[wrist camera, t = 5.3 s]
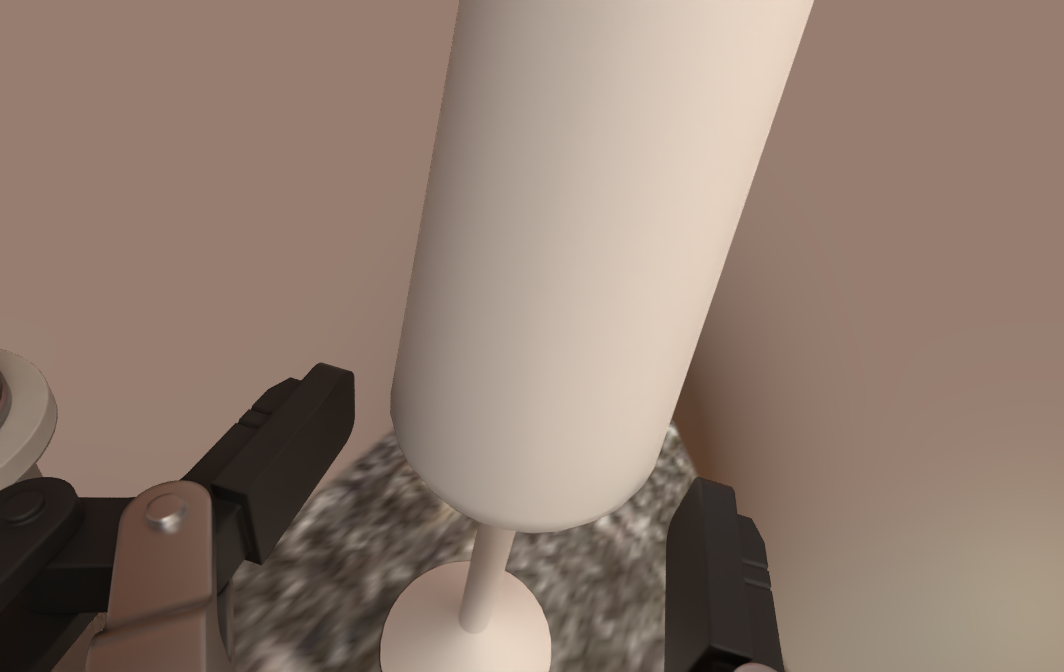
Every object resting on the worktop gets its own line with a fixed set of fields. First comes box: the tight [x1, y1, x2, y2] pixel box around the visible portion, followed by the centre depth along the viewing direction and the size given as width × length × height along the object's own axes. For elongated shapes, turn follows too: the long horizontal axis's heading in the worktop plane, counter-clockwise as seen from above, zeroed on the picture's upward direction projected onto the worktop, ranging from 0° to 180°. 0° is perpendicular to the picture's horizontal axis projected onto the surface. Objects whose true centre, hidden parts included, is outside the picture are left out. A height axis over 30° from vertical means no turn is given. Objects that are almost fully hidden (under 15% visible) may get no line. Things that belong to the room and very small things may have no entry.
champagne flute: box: [380, 0, 814, 672], centre depth 14 cm, size 7×7×24 cm
